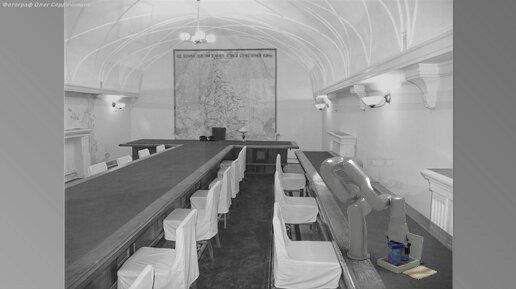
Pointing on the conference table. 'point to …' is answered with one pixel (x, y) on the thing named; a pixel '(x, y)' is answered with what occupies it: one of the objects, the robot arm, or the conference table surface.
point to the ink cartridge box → (397, 254)
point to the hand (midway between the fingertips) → (399, 251)
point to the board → (419, 272)
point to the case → (414, 256)
